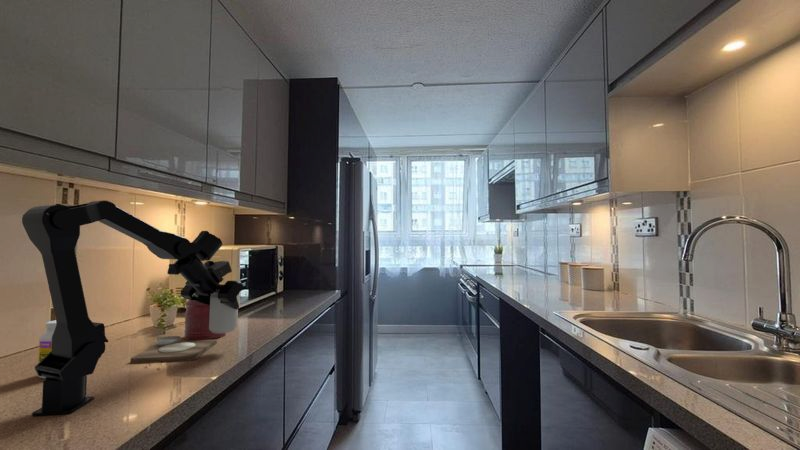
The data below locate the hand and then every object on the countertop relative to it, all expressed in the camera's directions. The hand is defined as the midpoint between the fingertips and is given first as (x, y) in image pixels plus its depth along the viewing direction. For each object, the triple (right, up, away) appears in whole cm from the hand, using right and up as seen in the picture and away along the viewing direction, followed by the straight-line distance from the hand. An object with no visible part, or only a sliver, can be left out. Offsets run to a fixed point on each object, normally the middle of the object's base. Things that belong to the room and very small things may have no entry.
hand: (227, 307), depth 105 cm
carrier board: (-14, -13, -3) cm, 19 cm away
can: (-1, -7, -2) cm, 7 cm away
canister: (-15, -14, +15) cm, 25 cm away
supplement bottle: (-32, -12, -20) cm, 40 cm away
